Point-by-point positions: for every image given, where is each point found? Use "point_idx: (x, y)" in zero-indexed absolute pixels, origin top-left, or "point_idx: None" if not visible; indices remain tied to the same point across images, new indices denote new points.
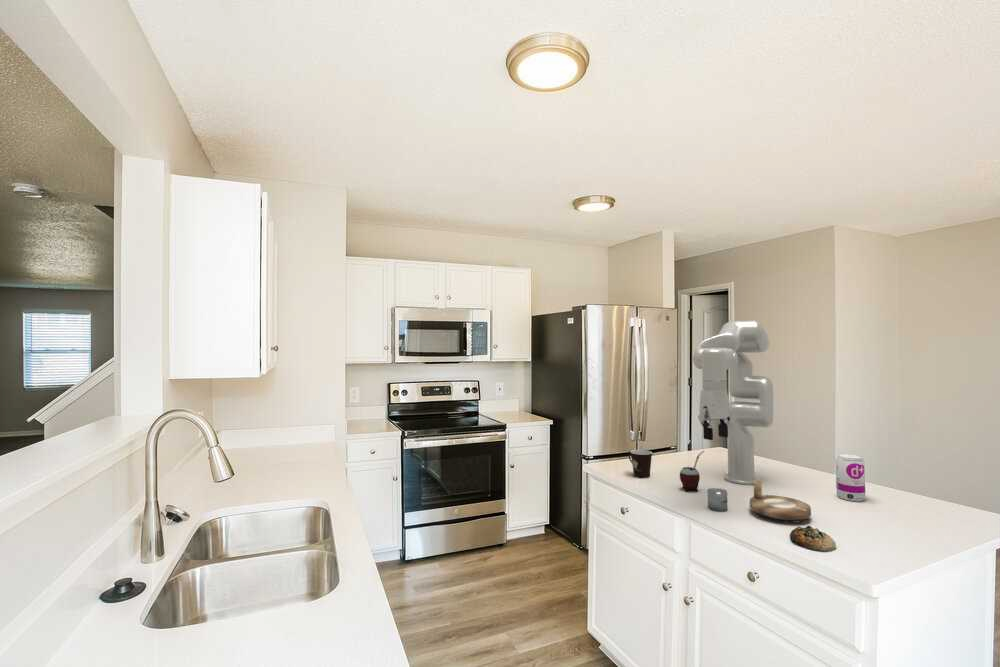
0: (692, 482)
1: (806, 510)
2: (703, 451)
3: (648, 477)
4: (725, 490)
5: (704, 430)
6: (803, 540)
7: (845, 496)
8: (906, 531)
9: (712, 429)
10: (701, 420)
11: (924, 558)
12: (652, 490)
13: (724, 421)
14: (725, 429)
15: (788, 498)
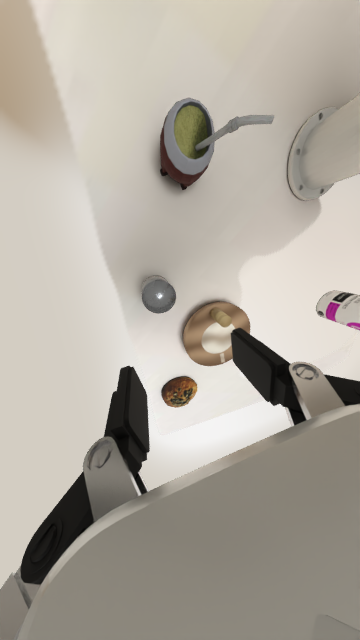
0: (175, 180)
1: (224, 361)
2: (265, 122)
3: None
4: (175, 298)
5: (108, 424)
6: (165, 400)
7: (319, 309)
8: None
9: (144, 450)
10: (9, 605)
11: (225, 411)
12: (79, 112)
13: (294, 425)
14: (255, 384)
15: (246, 324)
